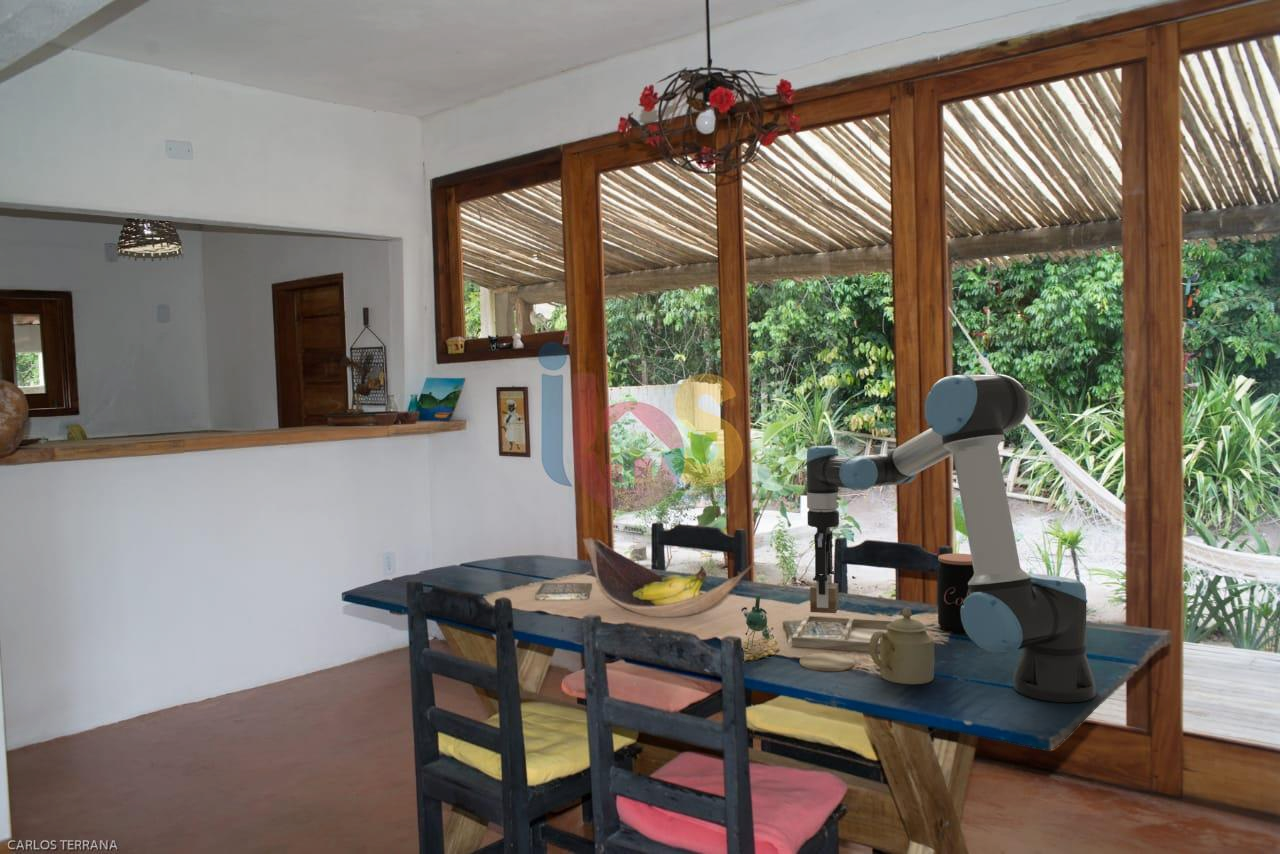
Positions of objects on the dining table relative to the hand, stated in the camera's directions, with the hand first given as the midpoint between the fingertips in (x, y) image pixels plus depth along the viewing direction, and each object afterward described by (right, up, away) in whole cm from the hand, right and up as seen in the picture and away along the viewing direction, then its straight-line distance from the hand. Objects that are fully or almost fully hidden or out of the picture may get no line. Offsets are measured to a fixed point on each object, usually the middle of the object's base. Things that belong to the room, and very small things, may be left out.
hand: (824, 604), depth 237 cm
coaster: (-3, -9, -20) cm, 23 cm away
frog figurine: (-17, -9, -11) cm, 22 cm away
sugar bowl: (+11, -10, -32) cm, 35 cm away
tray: (+5, -8, -1) cm, 10 cm away
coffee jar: (+35, -8, +7) cm, 37 cm away
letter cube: (0, -1, 0) cm, 1 cm away
